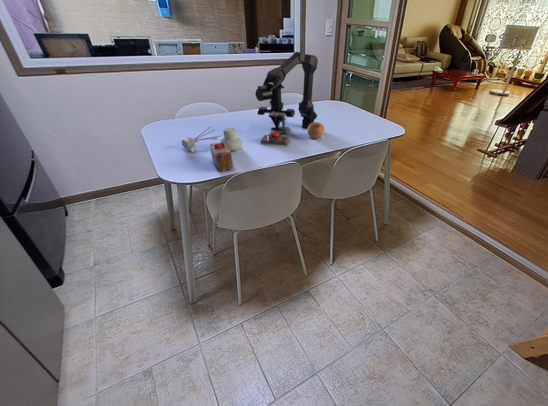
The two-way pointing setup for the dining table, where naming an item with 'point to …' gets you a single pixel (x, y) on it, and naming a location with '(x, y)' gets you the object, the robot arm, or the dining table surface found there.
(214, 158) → the food item
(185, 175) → the dining table surface
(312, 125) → the onion
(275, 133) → the push button
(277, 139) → the button box
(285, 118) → the switch bracket
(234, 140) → the air freshener
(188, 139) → the reed diffuser
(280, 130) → the switch lever
